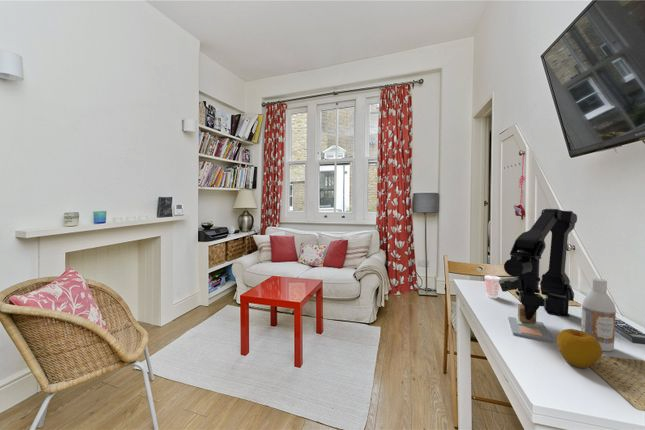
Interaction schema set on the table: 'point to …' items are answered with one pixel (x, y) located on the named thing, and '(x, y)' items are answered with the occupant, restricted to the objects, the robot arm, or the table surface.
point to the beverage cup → (492, 285)
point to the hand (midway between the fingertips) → (526, 316)
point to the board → (529, 329)
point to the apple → (579, 348)
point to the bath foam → (599, 315)
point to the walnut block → (522, 315)
